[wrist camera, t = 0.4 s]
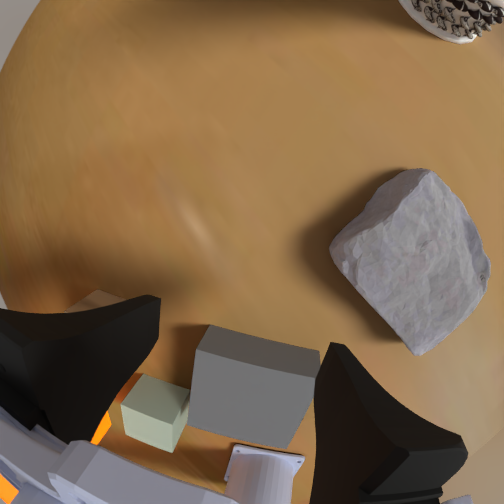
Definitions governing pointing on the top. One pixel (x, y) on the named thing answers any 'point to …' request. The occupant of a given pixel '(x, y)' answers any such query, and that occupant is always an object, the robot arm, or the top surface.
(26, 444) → the robot arm
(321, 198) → the top surface
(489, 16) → the decorative candle
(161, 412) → the sage block
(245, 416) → the charcoal block
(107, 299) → the walnut block
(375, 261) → the stone block
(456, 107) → the top surface
